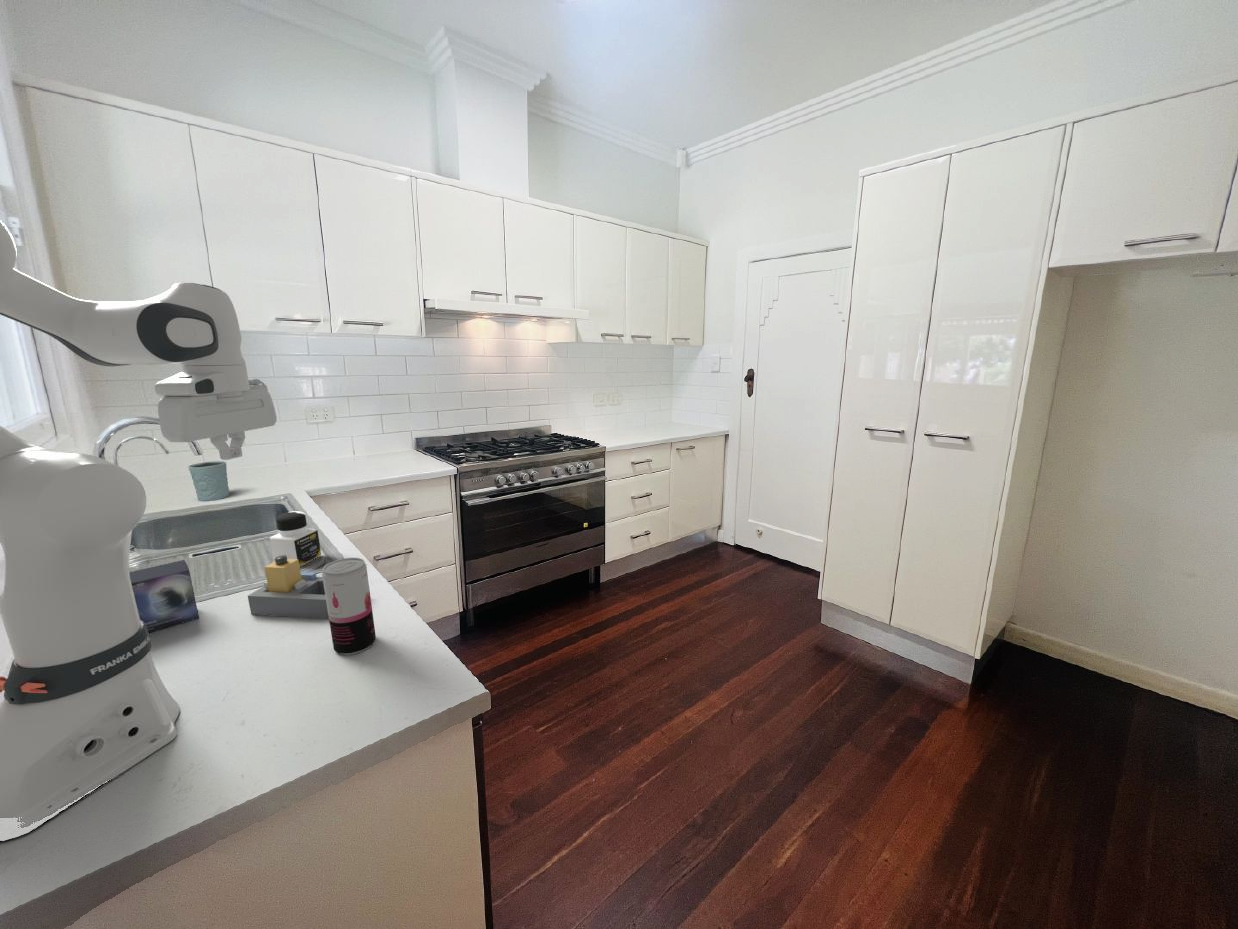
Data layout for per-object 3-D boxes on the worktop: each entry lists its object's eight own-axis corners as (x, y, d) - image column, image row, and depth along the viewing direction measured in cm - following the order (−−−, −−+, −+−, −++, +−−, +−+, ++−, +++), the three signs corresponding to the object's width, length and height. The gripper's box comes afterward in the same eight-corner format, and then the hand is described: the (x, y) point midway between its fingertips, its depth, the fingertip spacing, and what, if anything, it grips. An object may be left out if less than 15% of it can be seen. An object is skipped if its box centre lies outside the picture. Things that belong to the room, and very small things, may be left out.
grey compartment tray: (328, 618, 95) (325, 595, 94) (251, 614, 97) (246, 591, 96) (357, 596, 104) (354, 573, 103) (286, 592, 106) (282, 570, 105)
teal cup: (200, 503, 167) (192, 468, 164) (191, 498, 173) (184, 464, 170) (236, 496, 175) (230, 463, 172) (226, 491, 181) (220, 459, 178)
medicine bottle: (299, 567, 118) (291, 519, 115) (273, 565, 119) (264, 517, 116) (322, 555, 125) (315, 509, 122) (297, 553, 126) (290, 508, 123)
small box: (124, 642, 88) (109, 587, 86) (122, 628, 93) (108, 576, 90) (200, 618, 96) (189, 568, 93) (195, 607, 100) (184, 558, 98)
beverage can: (384, 638, 89) (374, 560, 85) (353, 659, 83) (340, 576, 79) (357, 631, 91) (346, 554, 88) (325, 651, 85) (312, 570, 82)
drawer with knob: (290, 609, 99) (282, 562, 97) (272, 608, 99) (263, 561, 97) (305, 600, 103) (297, 553, 100) (287, 599, 103) (279, 553, 101)
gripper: (250, 378, 99) (261, 447, 102) (143, 385, 79) (161, 470, 82) (279, 378, 98) (290, 447, 101) (179, 385, 78) (196, 471, 81)
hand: (231, 458), depth 91 cm, fingers closed
